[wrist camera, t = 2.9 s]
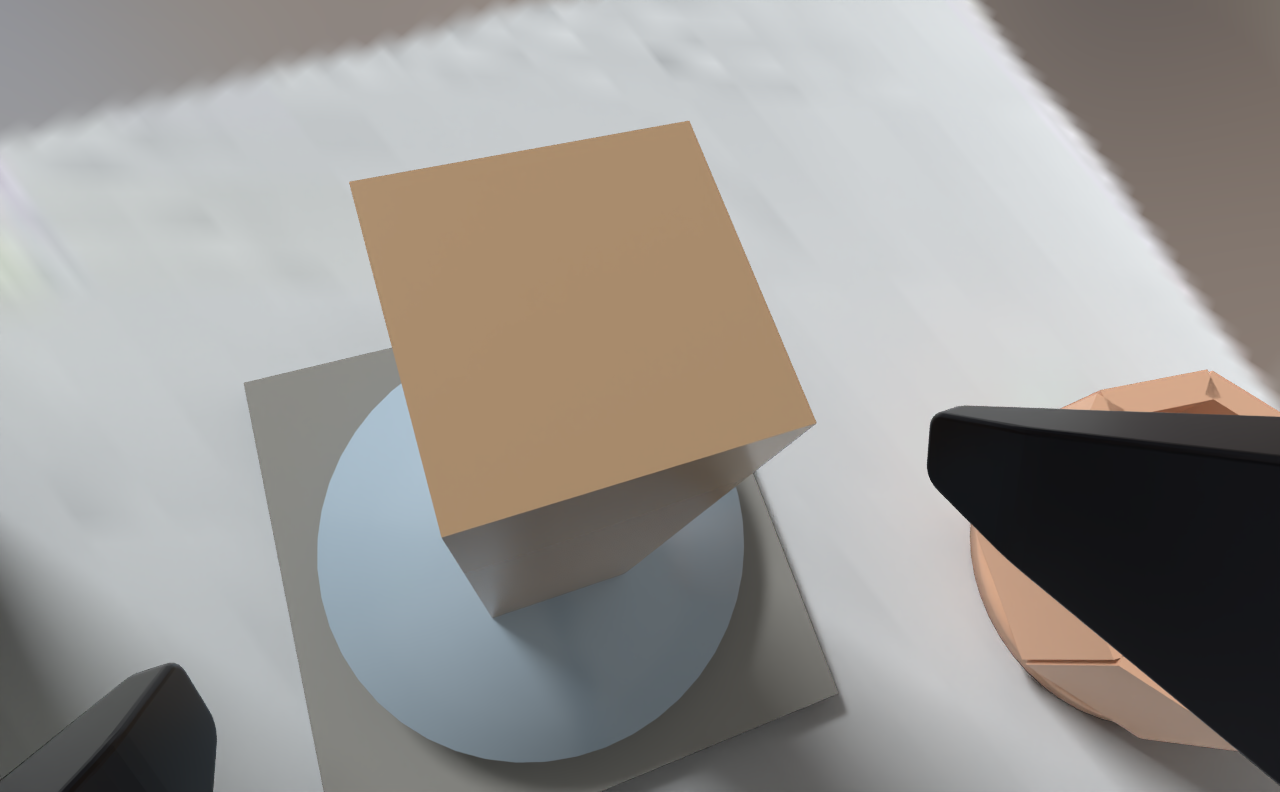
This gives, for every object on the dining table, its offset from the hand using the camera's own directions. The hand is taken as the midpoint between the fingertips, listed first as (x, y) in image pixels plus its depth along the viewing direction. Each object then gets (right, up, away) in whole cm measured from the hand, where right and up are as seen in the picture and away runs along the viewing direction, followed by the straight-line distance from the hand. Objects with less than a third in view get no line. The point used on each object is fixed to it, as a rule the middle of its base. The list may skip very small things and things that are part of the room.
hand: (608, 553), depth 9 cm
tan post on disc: (-2, -2, +10) cm, 10 cm away
